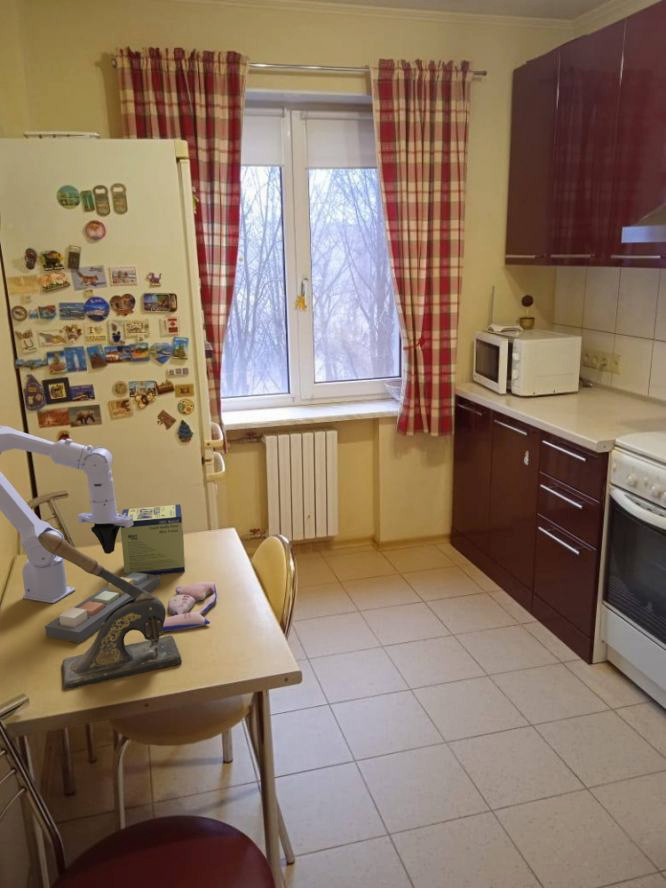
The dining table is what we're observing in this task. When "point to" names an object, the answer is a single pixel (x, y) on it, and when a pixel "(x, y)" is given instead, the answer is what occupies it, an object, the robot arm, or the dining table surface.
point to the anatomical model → (189, 606)
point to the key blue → (137, 577)
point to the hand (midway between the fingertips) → (109, 552)
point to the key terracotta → (92, 607)
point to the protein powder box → (154, 540)
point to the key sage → (106, 597)
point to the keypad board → (96, 620)
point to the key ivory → (73, 617)
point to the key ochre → (117, 590)
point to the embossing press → (116, 628)
